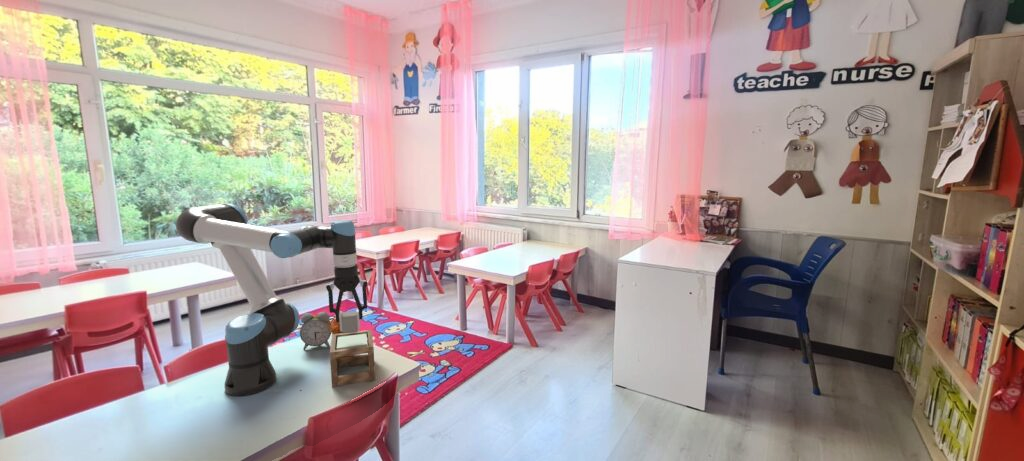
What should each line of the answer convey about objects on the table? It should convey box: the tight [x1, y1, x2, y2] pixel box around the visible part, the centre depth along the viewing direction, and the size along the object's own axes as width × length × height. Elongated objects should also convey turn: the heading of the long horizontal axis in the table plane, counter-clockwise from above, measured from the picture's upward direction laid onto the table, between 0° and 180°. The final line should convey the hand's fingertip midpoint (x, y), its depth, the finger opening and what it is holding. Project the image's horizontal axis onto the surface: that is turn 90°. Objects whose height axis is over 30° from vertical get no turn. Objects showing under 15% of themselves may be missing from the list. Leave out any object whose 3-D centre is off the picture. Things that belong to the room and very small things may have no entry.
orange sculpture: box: [330, 316, 355, 358], centre depth 166 cm, size 11×11×18 cm
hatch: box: [337, 334, 368, 350], centre depth 154 cm, size 10×10×1 cm
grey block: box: [341, 310, 359, 334], centre depth 151 cm, size 5×5×6 cm
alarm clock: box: [299, 311, 332, 351], centre depth 175 cm, size 12×7×15 cm, turn 104°
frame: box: [329, 329, 376, 388], centre depth 154 cm, size 14×16×12 cm
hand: (350, 328), depth 151 cm, fingers closed on grey block, 5 cm apart
